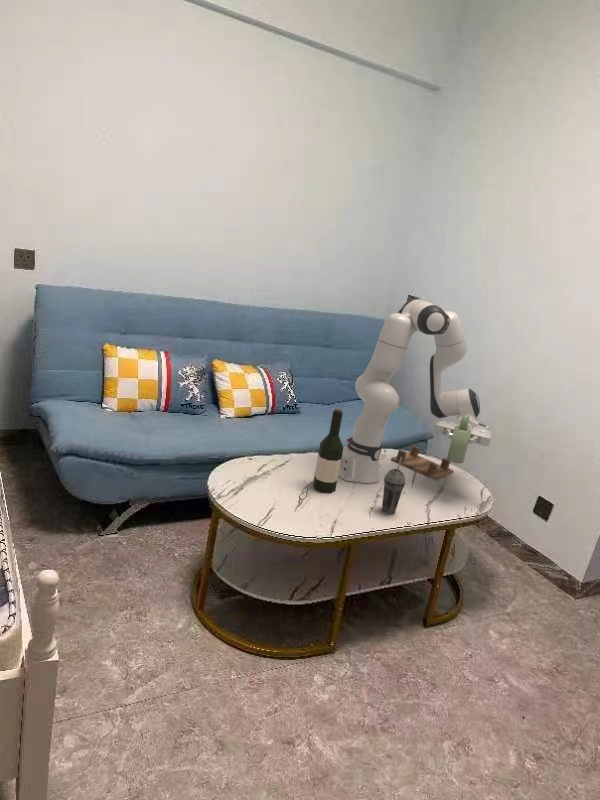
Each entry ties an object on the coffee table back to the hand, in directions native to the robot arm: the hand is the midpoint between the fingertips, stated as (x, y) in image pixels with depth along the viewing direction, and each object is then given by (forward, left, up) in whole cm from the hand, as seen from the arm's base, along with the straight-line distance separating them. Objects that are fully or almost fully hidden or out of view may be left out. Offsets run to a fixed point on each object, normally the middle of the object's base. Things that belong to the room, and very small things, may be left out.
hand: (460, 438), depth 222 cm
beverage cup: (-7, -27, -25) cm, 38 cm away
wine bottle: (-31, -33, -25) cm, 52 cm away
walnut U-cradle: (-23, +22, -25) cm, 40 cm away
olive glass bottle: (0, +1, -9) cm, 9 cm away
